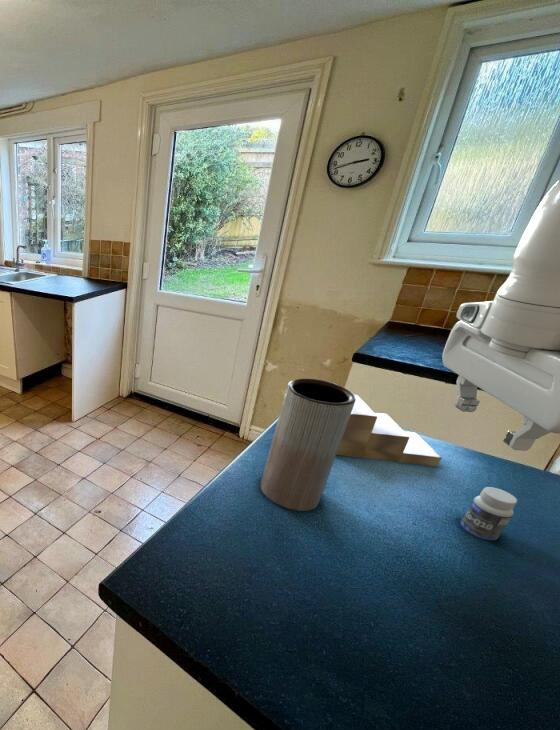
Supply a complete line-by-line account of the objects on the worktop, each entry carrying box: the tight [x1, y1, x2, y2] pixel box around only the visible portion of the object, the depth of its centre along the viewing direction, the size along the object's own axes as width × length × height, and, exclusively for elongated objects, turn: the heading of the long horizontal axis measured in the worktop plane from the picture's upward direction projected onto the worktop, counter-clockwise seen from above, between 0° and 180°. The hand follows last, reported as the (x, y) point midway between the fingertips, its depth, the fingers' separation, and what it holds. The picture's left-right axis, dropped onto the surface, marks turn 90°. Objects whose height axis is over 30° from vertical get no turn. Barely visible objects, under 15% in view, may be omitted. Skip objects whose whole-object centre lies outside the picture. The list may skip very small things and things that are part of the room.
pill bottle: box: [460, 486, 518, 541], centre depth 69 cm, size 5×5×8 cm
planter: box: [260, 378, 356, 512], centre depth 75 cm, size 10×10×23 cm
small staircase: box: [336, 394, 443, 467], centre depth 91 cm, size 21×10×11 cm, turn 76°
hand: (487, 426), depth 54 cm, fingers open, 8 cm apart
